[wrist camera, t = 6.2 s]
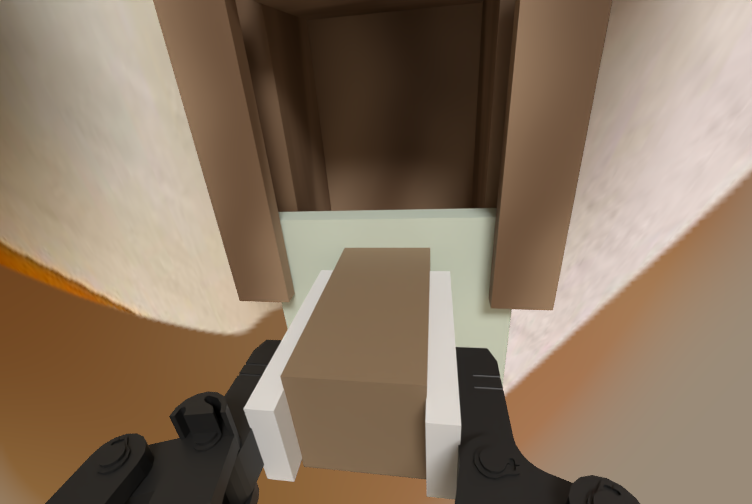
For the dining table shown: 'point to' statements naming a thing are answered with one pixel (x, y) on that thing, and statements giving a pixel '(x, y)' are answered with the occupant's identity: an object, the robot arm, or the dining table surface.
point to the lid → (380, 328)
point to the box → (390, 120)
